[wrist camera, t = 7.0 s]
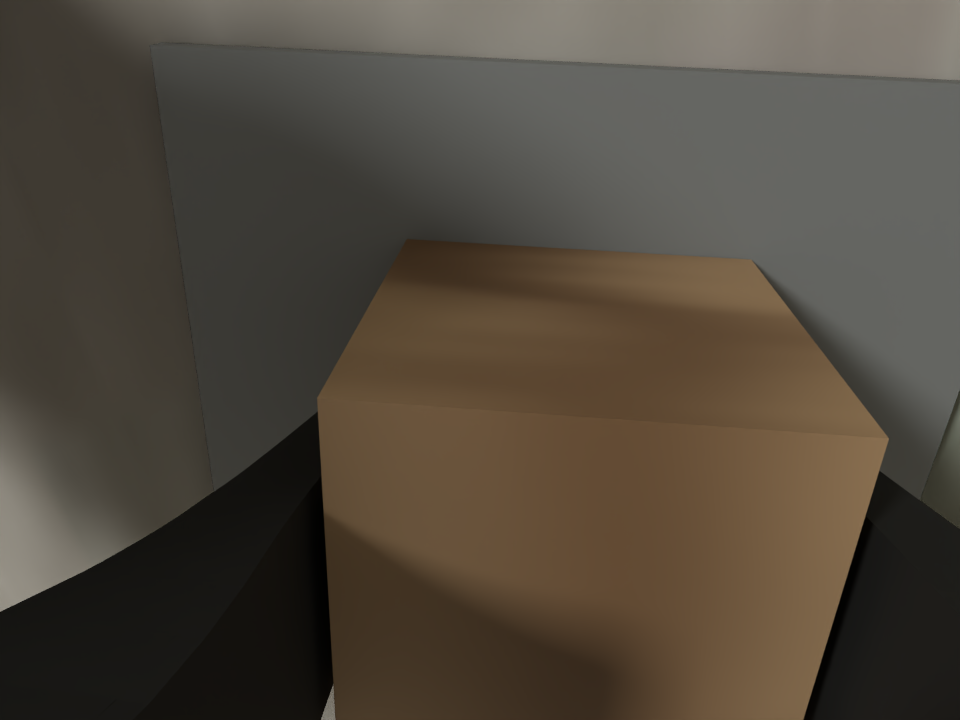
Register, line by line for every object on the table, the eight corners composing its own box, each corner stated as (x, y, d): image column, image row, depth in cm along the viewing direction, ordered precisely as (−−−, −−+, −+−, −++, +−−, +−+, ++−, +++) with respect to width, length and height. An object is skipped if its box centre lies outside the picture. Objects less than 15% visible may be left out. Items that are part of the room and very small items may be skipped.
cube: (407, 516, 14) (338, 774, 9) (406, 239, 12) (316, 397, 7) (696, 539, 13) (774, 817, 9) (751, 259, 11) (888, 438, 7)
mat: (236, 587, 15) (229, 602, 15) (162, 42, 11) (149, 45, 11) (856, 636, 15) (864, 652, 15) (1050, 84, 10) (1067, 89, 10)
